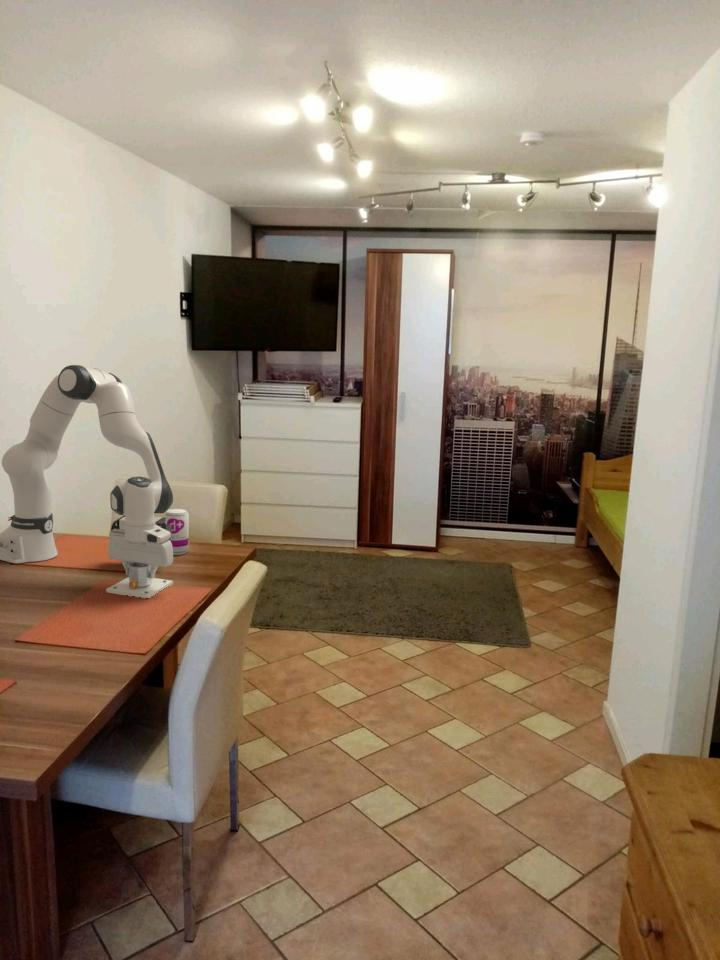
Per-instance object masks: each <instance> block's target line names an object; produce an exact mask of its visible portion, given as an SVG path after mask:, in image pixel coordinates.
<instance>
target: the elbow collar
mask: <svg viewBox="0 0 720 960" xmlns="http://www.w3.org/2000/svg"><path fill="white" fill-rule="evenodd" d="M139 564H142V563H135V562H132V563H130V564H129V575H128V577H129V588H132V589H134V588H135V587H142V586H148V585H149V584H151V578H148V573H149V572H150V571H152V568H151V565H149V564H142V565H145V566H142V567H136V565H139Z"/></svg>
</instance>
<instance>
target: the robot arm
mask: <svg viewBox="0 0 720 960" xmlns="http://www.w3.org/2000/svg"><path fill="white" fill-rule="evenodd" d="M81 403H87V404H95V406H96V407H97V414H98V421H99V427H100V431H101V434H102V436H103V438H105V440H106V441H107V442H109V443H110V444H113V445H114V446H117V447H119V448H122V449H126V450H129V451H132V452H134V453H136V454H137V455H139V456H140V458H141V459H142V461H143V464H144V466H145V470H146V473H147V476H148V478H147V477H145V476H132V477H129V478H127V479H126V481H125V483H121V484H117V485H115V486H114V488H112V489H111V492H110V495H109V496H110V509H111V510H112V511H113V512H114V513H116V514H117V515H119V516H124V515H125V522H124V530H119V529H113V530H111V529H110V531H109V533H108V539H109V541H108V547H107V555H108V558H109V559H110V560H114V561H115V560H116V561H121V564H122V566H123V569H124V570H125V575H126V576H129V562H135V563H142V564H149V565H151V571H150V572H149V573H148V578H151V579H153V578H156V572H157V570H158V569H159V567H162V568H167V567H168V566H170V565H171V564H172V563H173V562H174V555H173V547H172V543H171V541H170V540H168V539H170V538H171V533H170V532H169V531H167V530H165V529H163V528H161V527H159V526H157V525H155V518H154V517H155V514H165V513H166V511H167V510H168V509H171V507H172V504H173V502H174V495H173V491H172V488H171V486H170V484H169V482H168V480H167V477H166V475H165V472H164V469H163V466H162V463H161V460H160V457H159V454H158V451H157V448H156V445H155V443H154V441H153V438H152V435H151V434H150V433H149V432H147V431H145V430H144V429H143V428H142V426H141V425H140V422H139V421H138V419H137V418H138V417H137V412H136V408H135V402H134V399H133V396H132V394H131V391H130V389H129V387H128V385H126V384H125V383H124V382H122V380H121V379H120V378H119V376H116V375H115V374H113V373H111V372H106V371H105V370H102V369H99V368H95V367H88V366H83V365H80V364H71V365H66V366H65V367H64V368H62V369H61V370H60V372H59V374H57V375H56V376H55V377H54V378H52V380H51V381H50V383H49V384H48V386H47V387H46V389H45V390H44V392H43V393H42V395H41V397H40V399H39V401H38V403H37V404H36V407H35V409H34V411H32V414H31V416H30V418H29V427H28V431H27V435H26V436H25V438H24V439H23V440H22V442H19V443H16V444H14V445H12V446H10V448H8V449H7V450H6V451H5V452H4V454H3V455H2V458H1V467H2V468H3V470H4V472H5V473H6V474H7V476H8V477H9V482H10V484H11V488H12V493H13V502H14V503H13V504H14V514H13V515H12V516H10V517H9V516H8V520H7V521H8V522H11V523H10V525H9V526H8V527H7V528H5V529H4V530H3V531H2V532H0V560H1V561H5V562H7V563H12V564H22V563H33V562H43V561H47V560H51V559H54V558H55V557H57V556H58V554H59V552H58V550H57V549H58V548H57V547H56V542H55V537H54V532H53V528H54V526H53V525H54V518H53V517H54V515H53V512H52V502H51V501H52V500H51V499H52V498H51V497H52V496H51V490H50V488H49V487H48V484H47V482H46V479H45V474H44V473H45V472H44V471H45V470H47V469H49V468H51V467H52V465H53V464H54V463H55V461H56V460H57V458H58V454H59V453H58V452H59V450H60V446H61V444H62V440H63V437H64V434H65V433H66V430H67V428H68V427H69V425H70V423H71V421H72V419H73V417H74V416H75V413H76V411H77V409H78V407H79V405H80V404H81ZM112 531H113V532H112Z"/></svg>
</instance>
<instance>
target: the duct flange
mask: <svg viewBox="0 0 720 960" xmlns="http://www.w3.org/2000/svg"><path fill="white" fill-rule="evenodd" d="M142 566H145V565H142V564H139V565H136V567H142ZM173 584H174V581H173V580H168V579H163V578H156V577H155V578H153V579H151V584H149V585H148V586H142V587H135V588H134V589H132V588H129V576H127V577H126V578H124V579H122V580H121V581H118V582H117V583H115V584H114V585H112V586H109V587H108V588H106V589H105V592H106V593H109V594H114V595H115V594H116V595H119V596H120V595H121V596H126V595H128V597H132V596H135V597H134V598H139V597H141V598H140V599H145V598H149V599H151V598H152V597H151V596H153V595H154V596H156V595H157V594H156V593H158V592H159V591H161V590H162V591H164V590H165V589H164V588H166V587H167V588H169V587H171V586H172V585H173ZM168 586H169V587H168ZM167 588H166V589H167ZM163 589H164V590H163ZM162 591H161V592H162ZM159 593H160V592H159ZM159 593H158V594H159ZM155 594H156V595H155ZM154 596H153V597H154ZM150 597H151V598H150Z"/></svg>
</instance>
